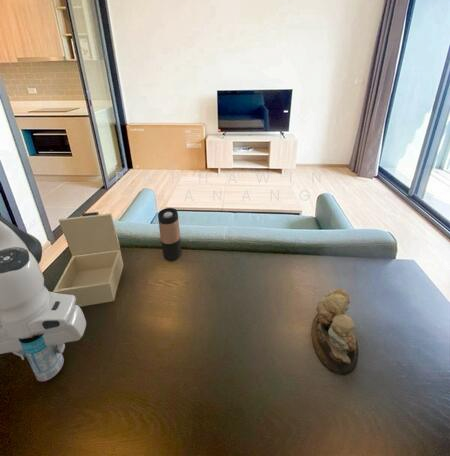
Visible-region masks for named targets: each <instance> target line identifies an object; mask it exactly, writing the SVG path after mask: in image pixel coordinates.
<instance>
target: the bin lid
mask: <svg viewBox="0 0 450 456" xmlns="http://www.w3.org/2000/svg"><path fill="white" fill-rule="evenodd" d="M58 223H59V225H60V228H61V230H62V233H63V237H64V238H65V241H66V243H67V246H68V249H69V252H70V254H71V256H75V255H83V254H90V253H98V252H106V251H113V250H121V246H120V241H119V238H118V234H117V230H116V226H115V221H114V219H113V215H112V213H102V214H100V212H99V211H92V212H83V213H82V214H81V216H75V217H65V218H59V219H58Z"/></svg>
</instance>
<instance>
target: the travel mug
mask: <svg viewBox="0 0 450 456" xmlns="http://www.w3.org/2000/svg"><path fill="white" fill-rule="evenodd" d="M157 221H158V228H159V236H160V245H161V250H162V254H163V259H164V260H166V261H168V262H174V261H176V260H178V259H180V257H181V255H182V245H181V244H182V243H181V230H180V221H179V213H178V210H177V209H176V208H174V207H166V208H163V209H161V210H159V211H158V213H157Z"/></svg>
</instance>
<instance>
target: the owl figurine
mask: <svg viewBox="0 0 450 456" xmlns="http://www.w3.org/2000/svg"><path fill="white" fill-rule="evenodd" d="M350 304H351V300H350V297H349V294H348V293H347V292H346V291H345V290H344V289H340V288H339V289H338V288H337V289H334V290H332V289H331V290H328V291H327V293H326V294H325V295H324V297H321V298H320V299H319V300H318V302H317V305H316V307H315V311H316V312H317V313H316V315H315V316H314V318H313V321H312V325H311V339H312V345H313V348H314V351H315V353H316V355H317V357H318V359H319V361H320V362H321V363H322V365H323V366H324V367H325V368H327V369H328V370H329V371H330V372H332V373H335V374H337V375H338V374H339V375H343V376H345V375H350V374H351V373H352V372H353V371H354V370H355V369H356V367H357V364H358V360H359V346H358V341H357V337H356V334H355V332H354V329H355V323H354V321H353V318H352V317H350V316H348V315H347V314H346V312H347V311H348V310H349V309H350Z"/></svg>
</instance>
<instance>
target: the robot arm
mask: <svg viewBox="0 0 450 456" xmlns="http://www.w3.org/2000/svg"><path fill="white" fill-rule="evenodd" d="M42 256H43V246H42V243H41V242H40V240H39V239H38V238H36V237H35V235H32V234H30V233H28V232H27V231H24V230H22V229H20V227H18V226H16V225H15V224H13V223H12V222H11V221H9V220H8V219H6V217H4V216H2V215H1V214H0V355H2V354H8V353H12V354H13V355H16V356H18V357H20V358H21V360H22V361H26V360H28V359H27V357H26V354H25V352H24V350H23V348H22V345H21V343H20V341H19V338H20V339H25V338H31V337H32V336H33V335H35V336H37V335H39V334H40V335H41V334H43V335H42V337H43V339H44V342H45V344H46V346H49V345H55V344H57V345H56V348H55V349H54V352H55V354H60V353H62V354H63V353H64V351H65V348H66V344H65V343H71V342H77V341H80V340H81V339H82V337H83V336H84V333H85V331H86V329H87V328H86V327H87V320H86V318H85V315H84V312H83V309H82V307H79V306H77V305H75V302H76V297H75V296H74V295H66V294H58V293H53V291H49V289H48V288H47V287H46V286H45V278H44V277H45V276H44V274H43V272H42V269H41V267H40V263H41V261H42ZM40 335H39V336H40ZM33 337H34V336H33Z"/></svg>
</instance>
